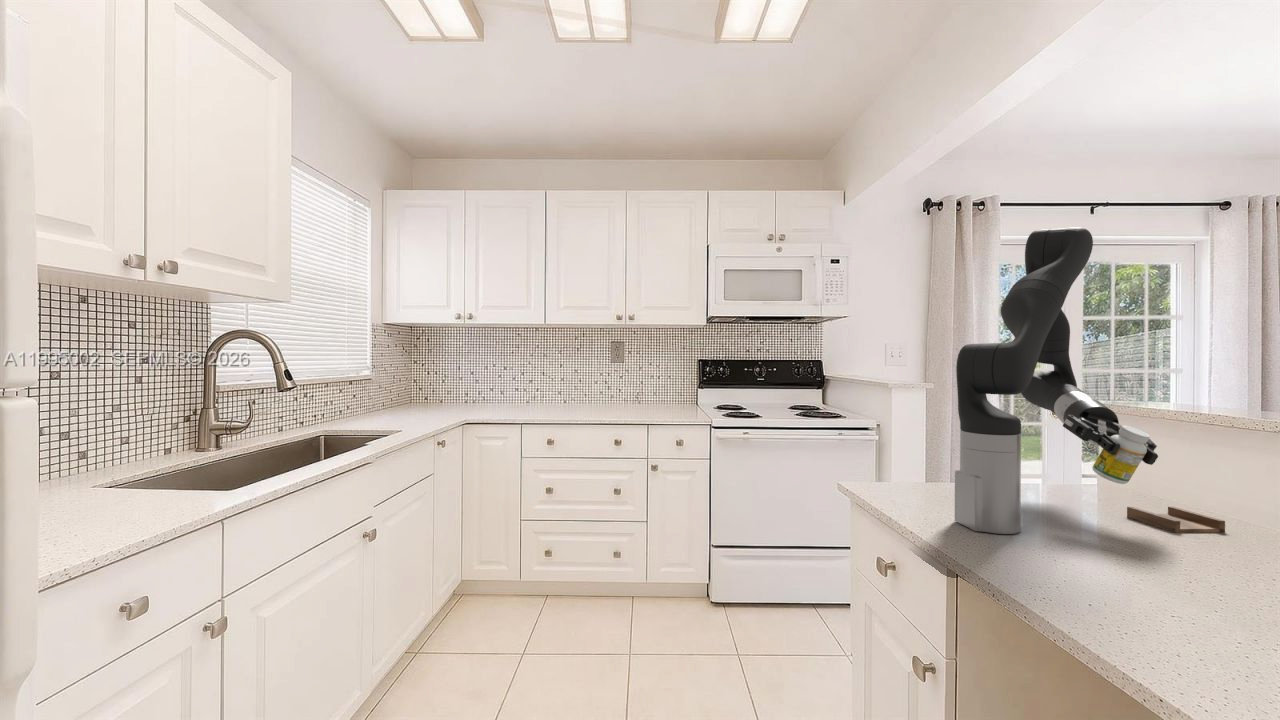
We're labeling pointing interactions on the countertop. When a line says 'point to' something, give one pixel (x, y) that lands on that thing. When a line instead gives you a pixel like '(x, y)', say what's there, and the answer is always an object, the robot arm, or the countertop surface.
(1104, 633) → the countertop surface
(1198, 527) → the cradle
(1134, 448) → the supplement bottle
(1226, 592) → the countertop surface
